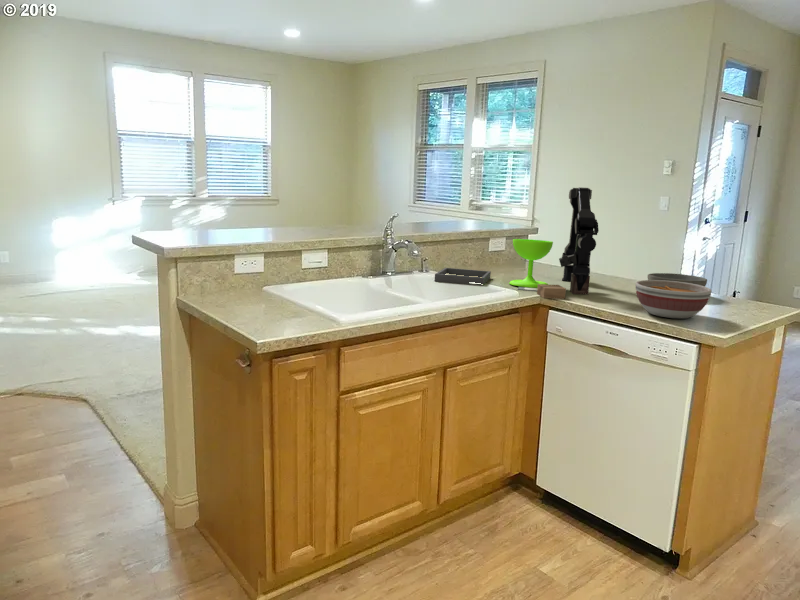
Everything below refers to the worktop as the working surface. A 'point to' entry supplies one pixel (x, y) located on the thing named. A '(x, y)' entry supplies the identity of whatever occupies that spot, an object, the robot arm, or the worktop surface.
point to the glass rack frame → (464, 279)
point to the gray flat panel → (527, 288)
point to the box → (574, 286)
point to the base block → (551, 291)
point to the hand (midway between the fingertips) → (579, 289)
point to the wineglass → (530, 258)
